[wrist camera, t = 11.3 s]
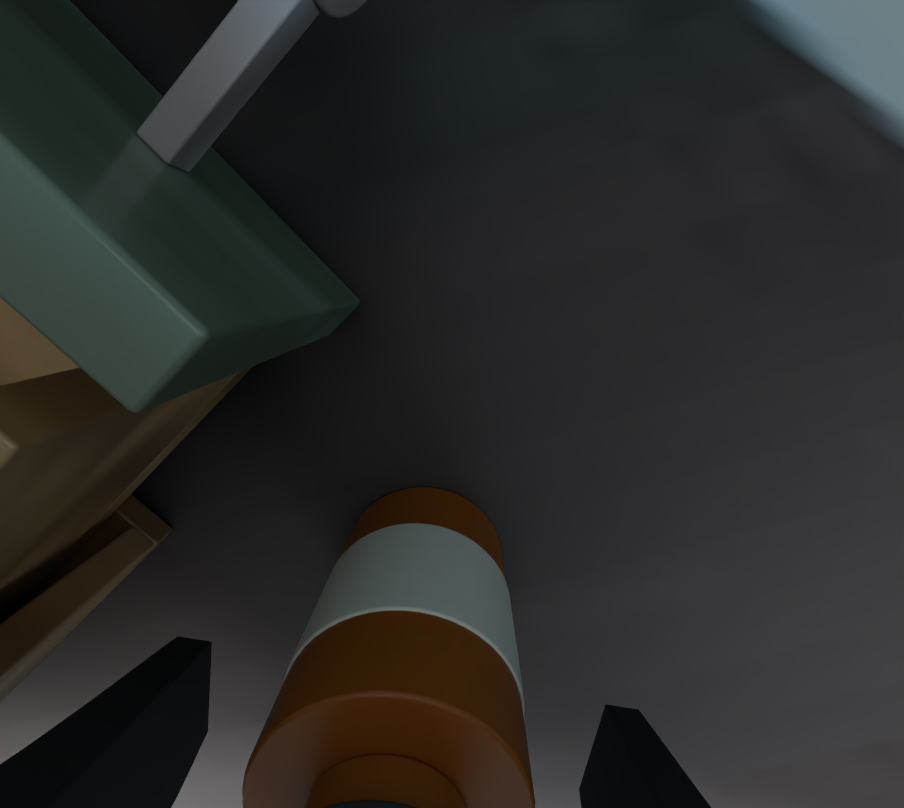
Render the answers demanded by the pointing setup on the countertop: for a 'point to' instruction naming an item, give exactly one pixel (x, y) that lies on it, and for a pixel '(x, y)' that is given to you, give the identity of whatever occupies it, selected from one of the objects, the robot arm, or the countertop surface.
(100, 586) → the cabinet
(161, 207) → the drawer
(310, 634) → the bottle
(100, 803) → the robot arm
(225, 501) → the countertop surface
